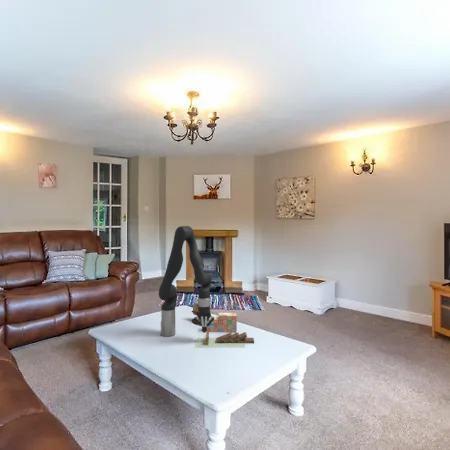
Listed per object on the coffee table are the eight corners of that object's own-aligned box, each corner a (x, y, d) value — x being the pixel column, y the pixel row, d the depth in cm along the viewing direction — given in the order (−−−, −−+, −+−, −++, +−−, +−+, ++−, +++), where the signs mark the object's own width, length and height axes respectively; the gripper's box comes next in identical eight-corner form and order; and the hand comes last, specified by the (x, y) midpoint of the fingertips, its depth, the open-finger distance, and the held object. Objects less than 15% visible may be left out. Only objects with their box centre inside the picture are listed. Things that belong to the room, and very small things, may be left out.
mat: (195, 348, 195) (195, 347, 195) (197, 338, 211) (197, 337, 211) (245, 348, 195) (245, 347, 195) (243, 338, 211) (243, 337, 211)
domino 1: (205, 337, 198) (206, 331, 208) (205, 345, 198) (206, 339, 208) (208, 337, 198) (209, 331, 208) (208, 345, 198) (209, 339, 208)
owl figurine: (187, 322, 244) (186, 299, 243) (198, 318, 253) (197, 296, 253) (204, 327, 232) (204, 303, 232) (215, 322, 242) (215, 300, 241)
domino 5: (237, 340, 201) (254, 340, 201) (237, 337, 206) (253, 337, 206) (238, 343, 201) (254, 343, 201) (237, 340, 206) (253, 340, 206)
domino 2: (215, 341, 201) (231, 335, 201) (216, 337, 206) (230, 332, 206) (216, 343, 201) (231, 337, 201) (217, 340, 206) (231, 334, 206)
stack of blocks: (205, 332, 221) (204, 314, 221) (206, 329, 227) (206, 312, 227) (236, 333, 219) (236, 315, 219) (236, 330, 225) (236, 312, 225)
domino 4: (231, 340, 201) (246, 334, 201) (230, 337, 206) (245, 331, 206) (232, 343, 201) (247, 337, 201) (231, 340, 206) (246, 334, 206)
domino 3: (223, 340, 201) (238, 335, 201) (223, 337, 206) (238, 332, 206) (224, 343, 201) (239, 337, 201) (224, 340, 206) (239, 334, 206)
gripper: (192, 306, 199) (193, 334, 200) (214, 306, 199) (214, 334, 199) (194, 303, 207) (194, 330, 207) (215, 303, 207) (215, 330, 207)
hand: (204, 332), depth 203 cm, fingers closed
